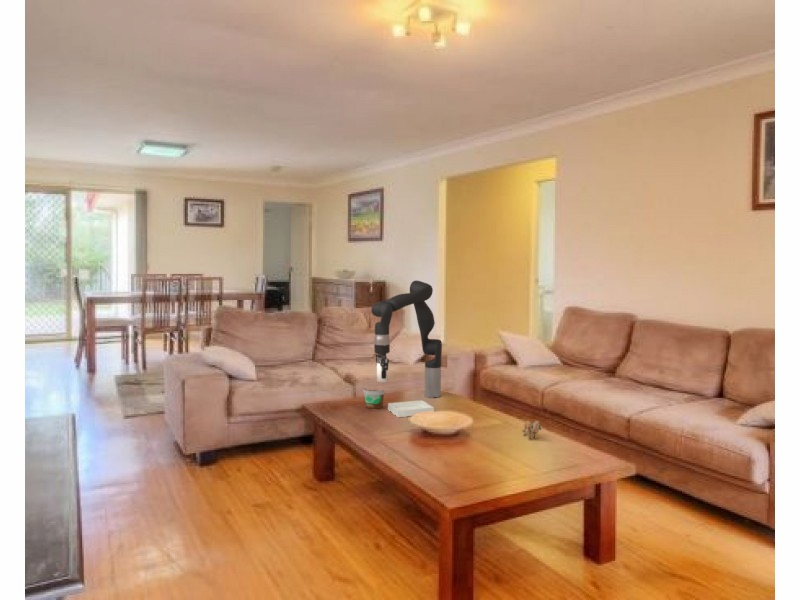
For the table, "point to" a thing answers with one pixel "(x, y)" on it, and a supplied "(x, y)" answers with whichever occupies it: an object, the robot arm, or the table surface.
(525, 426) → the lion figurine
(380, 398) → the food container
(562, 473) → the table surface
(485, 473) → the table surface
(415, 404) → the tray
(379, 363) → the cup
